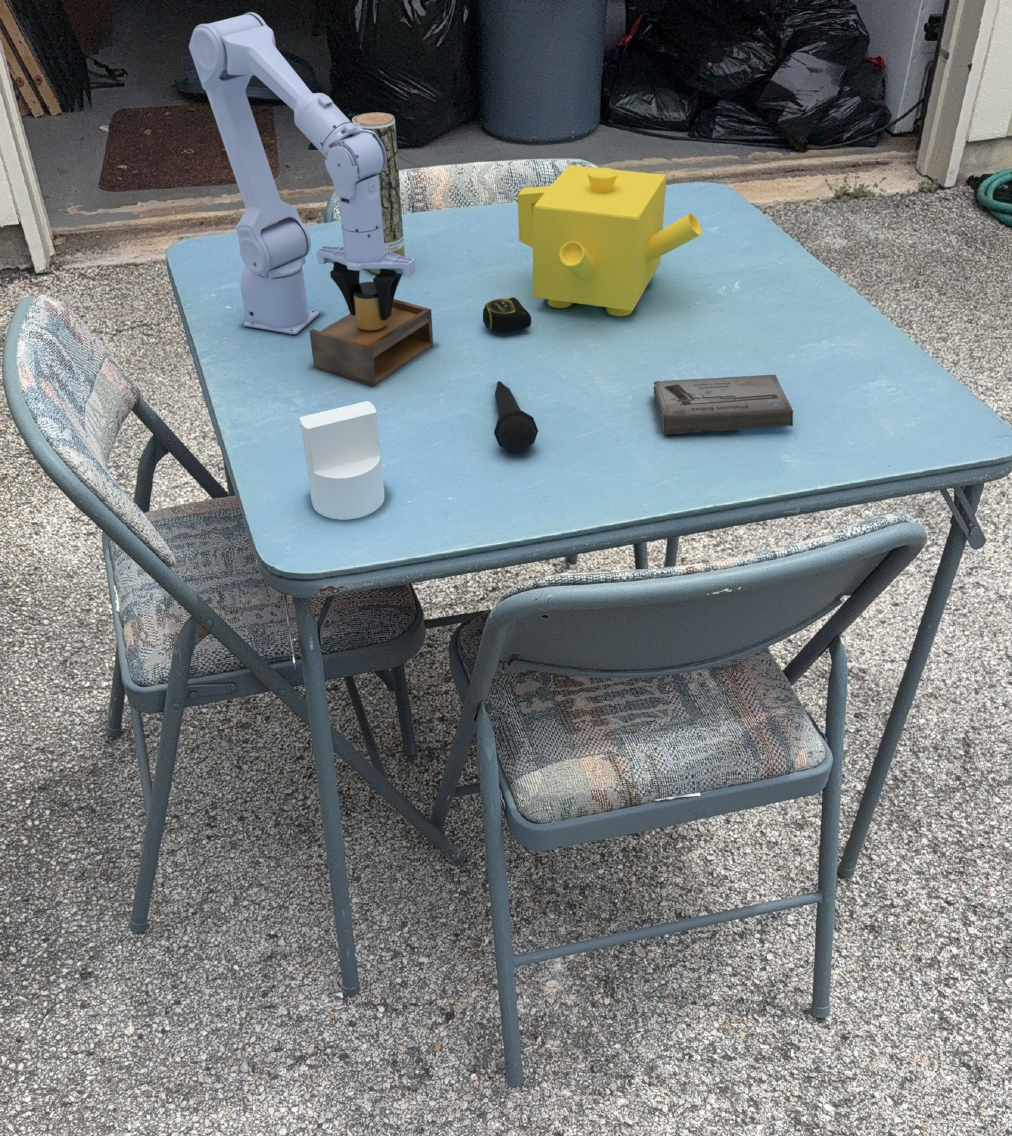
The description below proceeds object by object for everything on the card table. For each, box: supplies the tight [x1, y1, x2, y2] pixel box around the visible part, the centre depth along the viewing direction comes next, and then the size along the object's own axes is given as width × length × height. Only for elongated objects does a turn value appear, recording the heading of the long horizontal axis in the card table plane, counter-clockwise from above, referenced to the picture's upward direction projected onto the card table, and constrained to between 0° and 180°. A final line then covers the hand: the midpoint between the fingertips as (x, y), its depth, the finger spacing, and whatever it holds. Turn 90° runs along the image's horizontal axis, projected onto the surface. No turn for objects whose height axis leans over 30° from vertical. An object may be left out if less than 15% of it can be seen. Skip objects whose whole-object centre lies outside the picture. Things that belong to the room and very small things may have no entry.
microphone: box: [493, 380, 539, 453], centre depth 154 cm, size 6×6×20 cm
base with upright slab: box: [299, 400, 385, 521], centre depth 137 cm, size 9×9×12 cm
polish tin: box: [352, 281, 387, 330], centre depth 165 cm, size 5×5×6 cm
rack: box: [308, 298, 434, 388], centre depth 169 cm, size 11×15×6 cm
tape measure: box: [482, 296, 532, 334], centre depth 176 cm, size 7×7×4 cm
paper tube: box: [351, 112, 406, 275], centre depth 188 cm, size 7×7×25 cm
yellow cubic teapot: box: [517, 164, 703, 317], centre depth 180 cm, size 35×29×20 cm
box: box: [652, 374, 794, 436], centre depth 154 cm, size 11×17×3 cm, turn 92°
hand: (370, 314), depth 166 cm, fingers closed on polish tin, 4 cm apart
